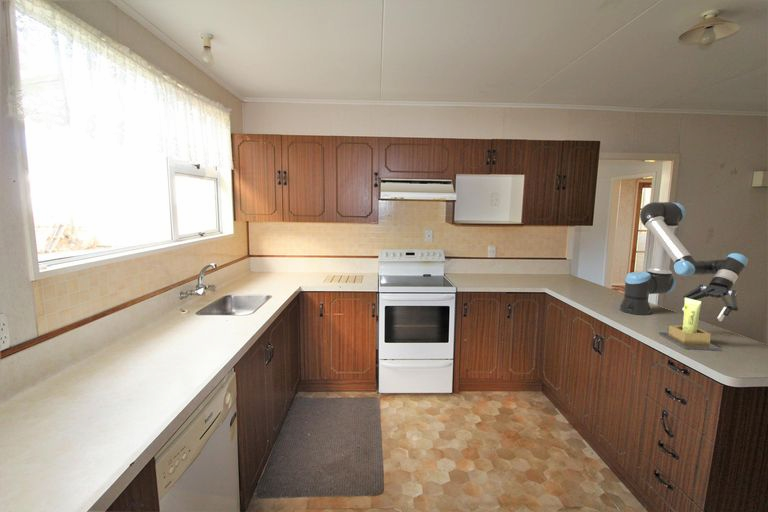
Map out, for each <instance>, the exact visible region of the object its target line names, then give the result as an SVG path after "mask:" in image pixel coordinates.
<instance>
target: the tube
mask: <svg viewBox="0 0 768 512" xmlns="http://www.w3.org/2000/svg"><path fill="white" fill-rule="evenodd" d="M684 302H685V304H684V303H683V307H684V312H683V319H682V320H683V322H682V326H683V330H682V331H684V332H688V333H697V328H698V327H699V326H698V325H699V319H700V314H701V313H700V311H701V306H702V301H701V300H699V299H697V300H693V299H689V298H685V299H684Z"/></svg>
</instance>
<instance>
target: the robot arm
mask: <svg viewBox="0 0 768 512" xmlns="http://www.w3.org/2000/svg"><path fill="white" fill-rule="evenodd" d="M685 217H686V209H685V207H684V206H683V205H682V204H681V203H679V202H672V201H667V202H666V201H665V202H663V201H662V202H659V201H658V202H656V201H655V202H650V203H647V204H645V205H644V206H642V208H641V210H640V213H639V220H640V222H641V223H642V225H643V226H644V228H645V229H648V230H650V232H651V234H652V235H653V237H654V240H653V241H654V242H653V248H652V256H651V257H652V258H651V262H650V263H651V265H650V268H648V269H646V271H633V272H629V273H627V274H626V277H625V280H624V283H625V284H624V296H623V299H622V300H621V303H620V304H619V308H618V309H619V310H620V311H621V312H624V313H626V314H632V315H637V316H638V315H639V316H648V315H650V314H651V307H650V306H651V305H650V303H649V295H654V294H655V295H657V294H658V295H659V294H660V295H664V294H667V293H671V292H672V291H674V289H675V288H676V285H677V280H676V278H675V276H674V275H673V271H671V270H670V267H671V261H672V262H674V265H673V268H674V269H673V270H674V272H675V273H676V274H677V275H679V276H687V277H689V276H711V275H712V276H713V278H712V279H711V280H710V282H709V284H708V285H707V286H705V285H703V284H699V285H698V286H697V287H696V288H695V289H692V290H691V291H689V292H687V293H685V294H684V295H683V296H682V297H683V299H684V300H685V298H689V299H693V300H700V299H703V298H708V297H712V298H715V299H718V298H721V300H722V301H723V303H724V304H725V306H723V308H722V310H721V311H720V313H719V315H718V316H717V317H716V318H717V320H718V322H720V323H721V322H722V321H723V320H724V318H725V317H726V316H729V314H730V313H731V312H732V311H734V312H737V311H738V310H739V307H738V302H737V301H738V300H737V296H738V293H737V291H736V290H735V289H733V290H732V288H733V286H734V285H735V283H736V281H737V280H738V278H739V277H740V275H741V274H742V272H743V270H744V269H746V266H747V264H748V262H749V259H748V258H747V257H746V256H745V255H744V254H741V253H736V252H732V253H730V254H728V255H727V256H726V257H725V258H719V259H718V258H717V259H702V260H701V259H700V260H697V259H695V258H694V257H693V256H692V254H691V253H690V252H689V251H688V250H687V248H686V247H685V246H684V245H683V244H682V242H681V241H680V240H679V239H678V237H677V236H676V235H675V229H676V228H678V227H679V223H680V222H682V221H683V220H684V219H685ZM728 295H730V297H731V303H732V305H731V304H730V303H729V301H728V300H727V298H726V296H728ZM684 304H685V301H684V302H683V305H684ZM681 311H682V312H683V313H684V306H682V309H681Z"/></svg>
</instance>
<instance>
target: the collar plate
mask: <svg viewBox="0 0 768 512" xmlns="http://www.w3.org/2000/svg"><path fill="white" fill-rule="evenodd" d="M668 327H669V329H668V332H660V331H659V332H658V335H659V336H662V337H663V338H665V339H666V340H668V341H670V342H672V343H673V344H675V345H677V346H679V347H681V348H683V349H684V350H692V349H694V351H696V350H697V351H698V350H699V351H716V352H717V351H720V352H721V351H722V348H721V347H720V346H717V345H715V344H712V343H711V338H712V336H711V335H712V334H711V333H709V332H707V331H706V330H705V331H704V330H703V329H701V328H698V327H697V333H688V332H684V331H682V330H683V325H669V326H668Z"/></svg>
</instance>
